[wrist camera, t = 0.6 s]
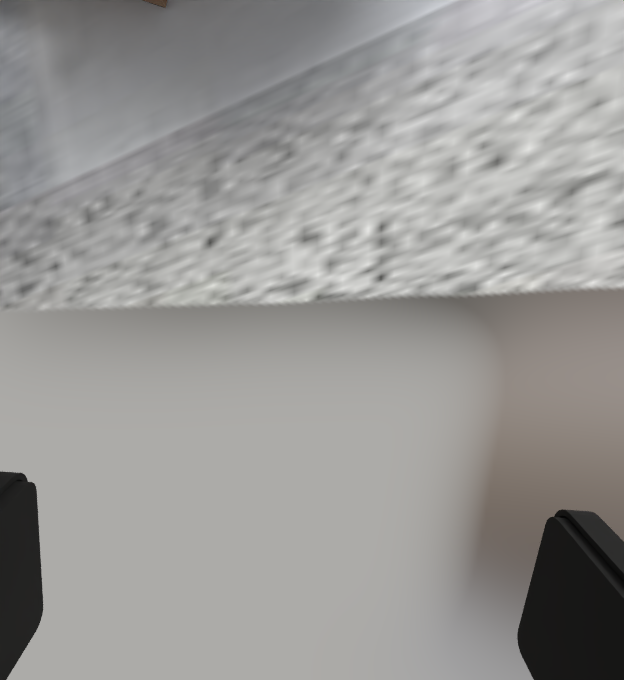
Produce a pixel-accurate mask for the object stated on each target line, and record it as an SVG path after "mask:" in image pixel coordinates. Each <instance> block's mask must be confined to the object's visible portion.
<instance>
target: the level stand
mask: <svg viewBox="0 0 624 680" xmlns="http://www.w3.org/2000/svg"><path fill="white" fill-rule="evenodd" d="M143 1H146V2H149V3H152V4H155V5H159V6H162V7H165V8H166V4H167V0H143Z"/></svg>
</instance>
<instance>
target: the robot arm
mask: <svg viewBox="0 0 624 680" xmlns="http://www.w3.org/2000/svg"><path fill="white" fill-rule="evenodd" d="M42 612H43V594H42V578H41V559H40V542H39V525H38V509H37V491H36V486H35V484H34V483H32V482H28V481H27V478H26V476H25V475H24V474H22V473H13V472H0V680H6V679H7V677H8V676H9V674H10V673H11V671H12V669H13V668H14V666H15V664H16V663H17V661H18V659H19V658H20V656H21V655H22V653H23V651H24V650H25V648H26V647H27V645H28V643H29V642H30V640H31V638H32V637H33V635H34V633H35V632H36V630H37V628H38V626H39V623H40V621H41V617H42ZM518 646H519V649H520V652H521V655H522V657H523V659H524V661H525V663H526V665H527V667H528V669H529V671H530V673H531V675H532V677H533V679H534V680H624V542H623V541H622V540H621V539H620V538H619V536H618V535H617V534H615V532H613V530H612V529H611V528H610V527H609V526H608V525H607V524H606V523H605V522H604V521H603V520H602V519H601V518H600V517H599V516H598V515H596V514H595V513H593V512H589V511H574V510H559V511H558V512H557V513H556V514H555V516H554V517H551V518H549V519H548V520H547V522H546V525H545V529H544V533H543V536H542V540H541V544H540V548H539V552H538V556H537V559H536V563H535V567H534V571H533V575H532V579H531V582H530V586H529V590H528V594H527V598H526V602H525V605H524V610H523V614H522V617H521V621H520V625H519V629H518Z"/></svg>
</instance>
